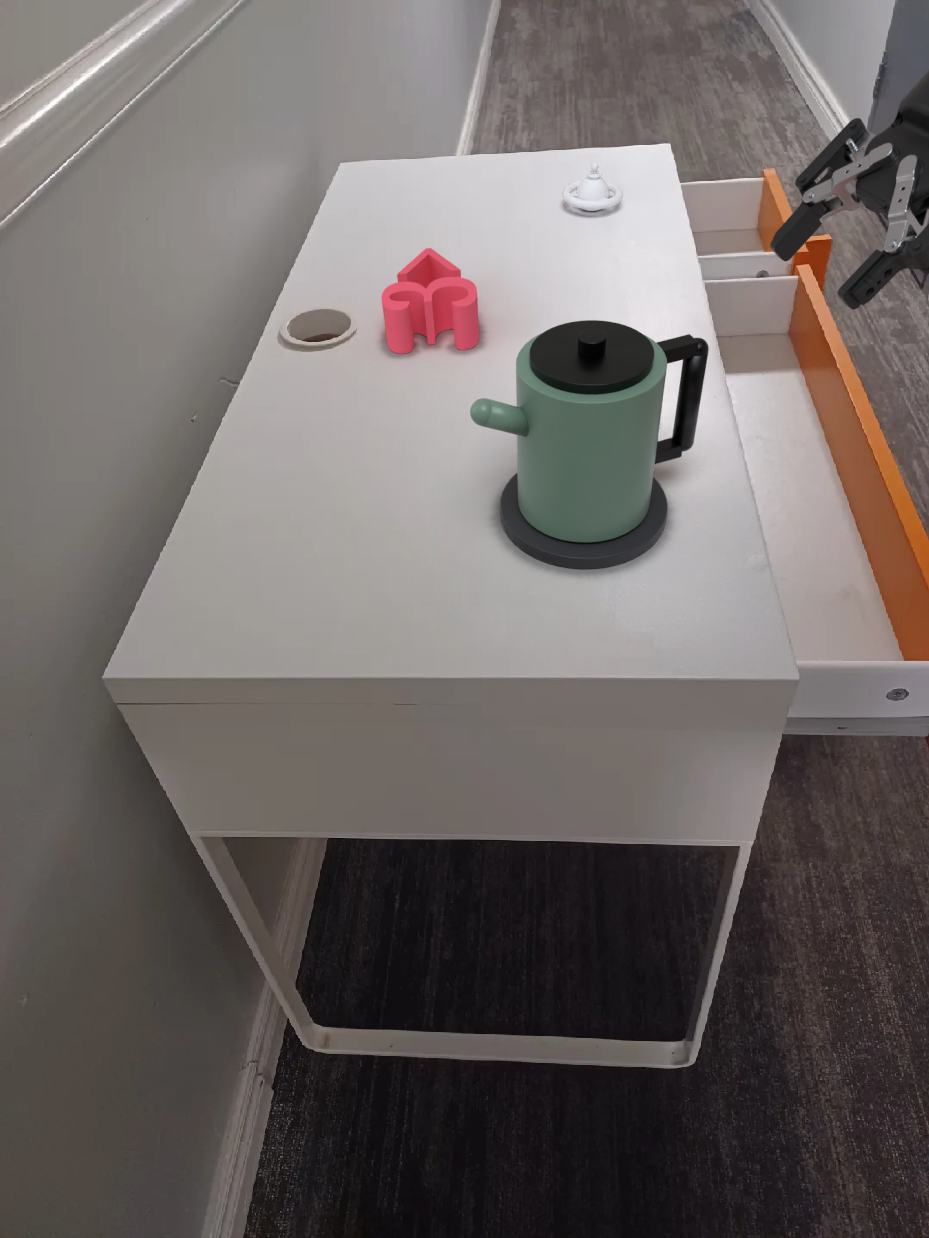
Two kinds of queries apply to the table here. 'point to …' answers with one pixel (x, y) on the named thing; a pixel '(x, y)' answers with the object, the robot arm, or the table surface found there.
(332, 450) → the table surface
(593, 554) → the kettle base
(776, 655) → the table surface
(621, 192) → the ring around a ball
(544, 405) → the kettle
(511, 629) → the table surface
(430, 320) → the pink curled block
